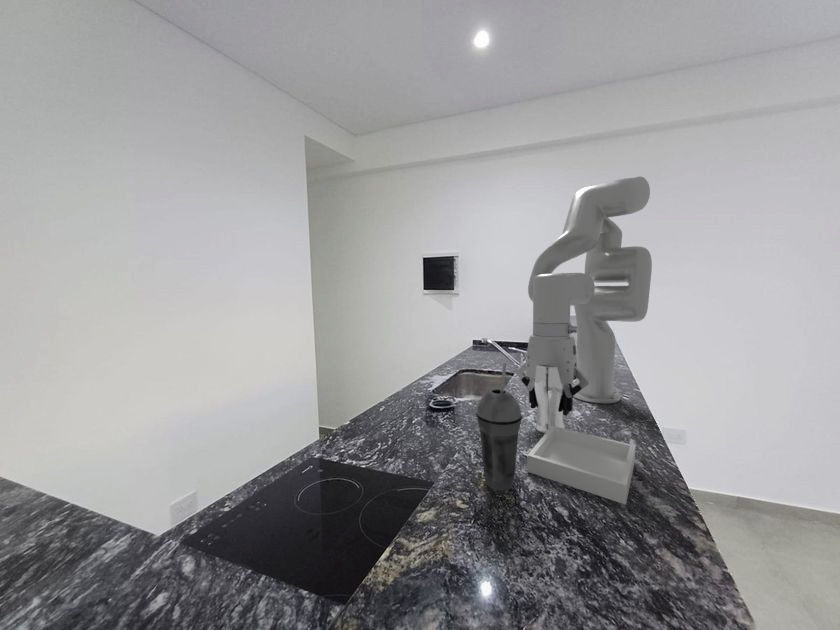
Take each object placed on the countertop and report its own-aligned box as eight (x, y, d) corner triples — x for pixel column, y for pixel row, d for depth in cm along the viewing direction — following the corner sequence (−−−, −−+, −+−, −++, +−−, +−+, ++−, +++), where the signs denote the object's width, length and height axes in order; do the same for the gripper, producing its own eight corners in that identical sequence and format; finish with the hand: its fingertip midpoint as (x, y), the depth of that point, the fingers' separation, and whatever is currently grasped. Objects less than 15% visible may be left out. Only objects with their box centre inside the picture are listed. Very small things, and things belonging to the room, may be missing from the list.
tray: (551, 439, 68) (551, 425, 67) (634, 461, 59) (635, 445, 58) (527, 471, 56) (527, 455, 56) (625, 504, 47) (626, 485, 47)
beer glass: (560, 423, 75) (561, 360, 74) (571, 436, 69) (572, 367, 67) (530, 422, 76) (530, 360, 75) (537, 436, 69) (537, 367, 68)
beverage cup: (468, 475, 55) (467, 361, 54) (504, 466, 58) (504, 357, 56) (492, 501, 49) (491, 371, 47) (531, 489, 51) (532, 366, 50)
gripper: (598, 330, 68) (596, 413, 70) (518, 326, 79) (518, 397, 80) (591, 335, 62) (589, 425, 64) (506, 329, 73) (506, 407, 74)
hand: (550, 409), depth 72 cm, fingers closed on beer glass, 6 cm apart
